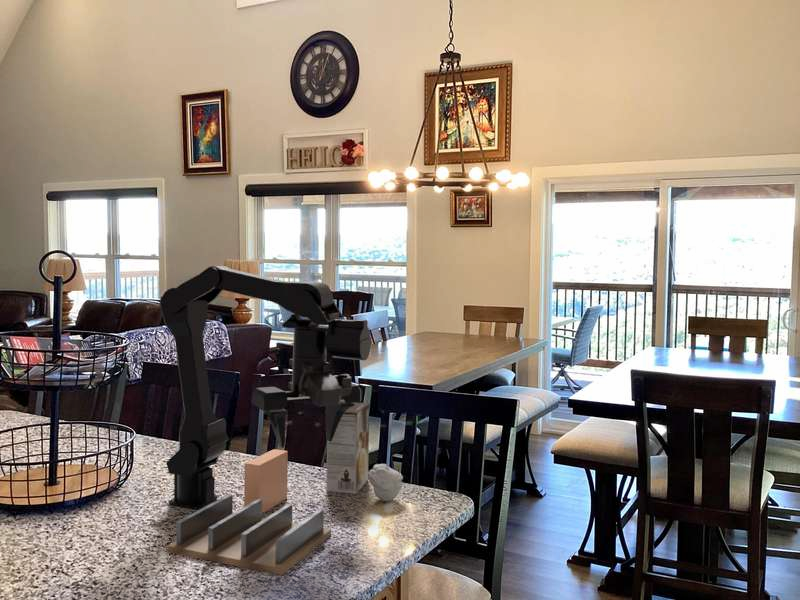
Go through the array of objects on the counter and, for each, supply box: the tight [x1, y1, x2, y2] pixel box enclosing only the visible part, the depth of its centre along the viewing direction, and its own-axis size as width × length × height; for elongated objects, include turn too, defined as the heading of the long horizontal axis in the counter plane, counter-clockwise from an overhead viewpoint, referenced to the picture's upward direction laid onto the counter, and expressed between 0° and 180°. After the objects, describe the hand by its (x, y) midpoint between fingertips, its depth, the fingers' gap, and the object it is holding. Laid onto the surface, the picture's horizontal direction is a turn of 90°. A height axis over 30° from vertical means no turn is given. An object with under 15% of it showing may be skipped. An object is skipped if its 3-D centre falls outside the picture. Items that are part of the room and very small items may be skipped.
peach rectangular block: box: [243, 448, 289, 514], centre depth 131 cm, size 3×10×9 cm, turn 160°
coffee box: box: [325, 402, 370, 495], centre depth 143 cm, size 9×6×16 cm
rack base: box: [166, 511, 332, 576], centre depth 114 cm, size 20×16×1 cm
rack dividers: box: [175, 493, 325, 564], centre depth 114 cm, size 18×14×4 cm
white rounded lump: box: [367, 463, 404, 502], centre depth 135 cm, size 6×7×7 cm
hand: (306, 443), depth 125 cm, fingers open, 9 cm apart
